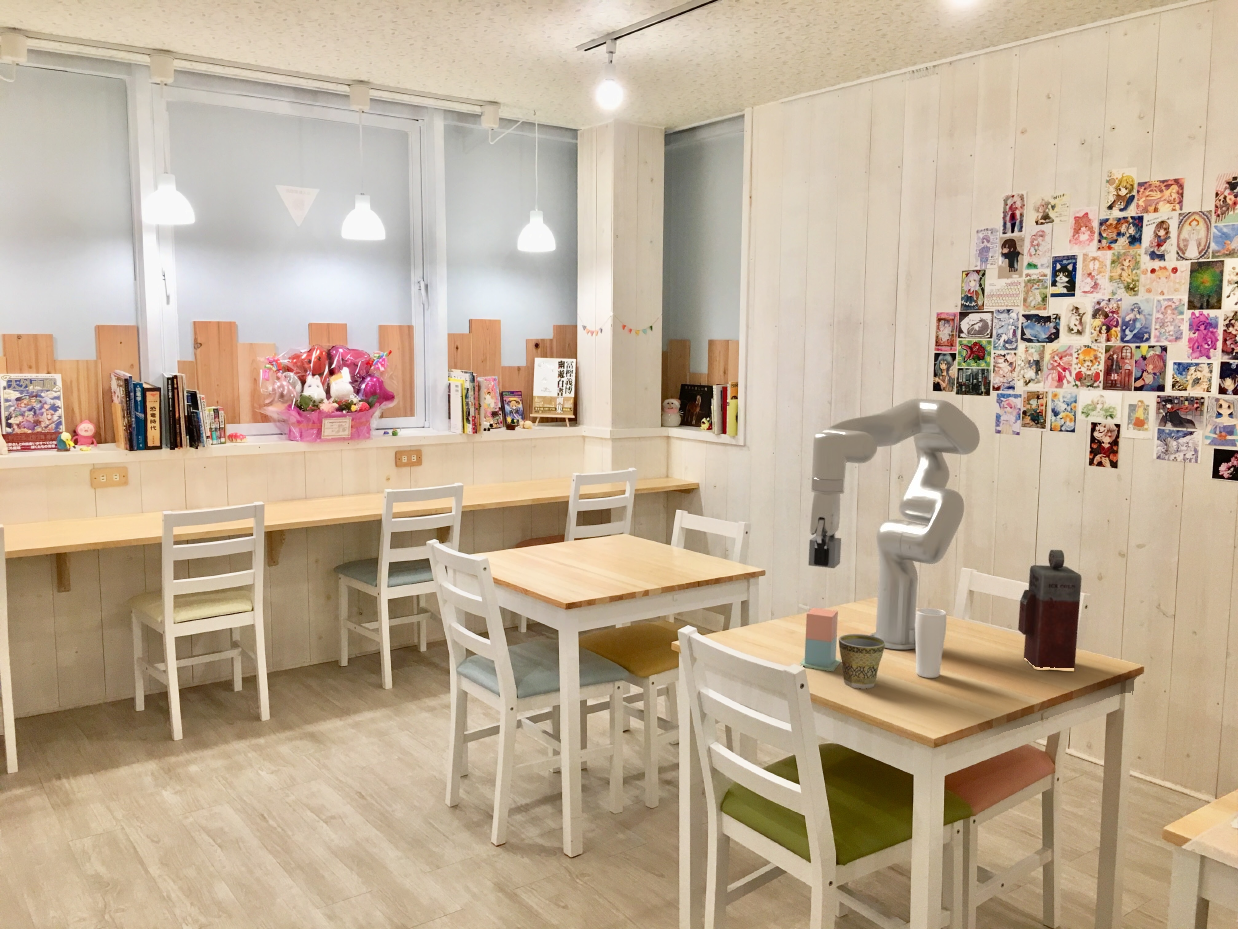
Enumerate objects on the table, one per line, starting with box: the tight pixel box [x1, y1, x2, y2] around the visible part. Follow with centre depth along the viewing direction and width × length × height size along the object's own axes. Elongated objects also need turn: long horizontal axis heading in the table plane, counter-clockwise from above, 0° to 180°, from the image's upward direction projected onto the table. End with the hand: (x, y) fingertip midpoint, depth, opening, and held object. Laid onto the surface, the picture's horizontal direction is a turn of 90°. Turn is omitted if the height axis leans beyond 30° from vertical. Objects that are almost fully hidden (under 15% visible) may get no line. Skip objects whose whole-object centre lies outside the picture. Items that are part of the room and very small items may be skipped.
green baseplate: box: [799, 657, 842, 672], centre depth 234 cm, size 8×8×1 cm
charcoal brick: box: [808, 535, 842, 569], centre depth 231 cm, size 6×6×6 cm
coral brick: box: [805, 607, 839, 642], centre depth 233 cm, size 6×6×6 cm
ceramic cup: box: [838, 633, 885, 690], centre depth 222 cm, size 13×10×10 cm
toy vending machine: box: [1017, 549, 1082, 669], centre depth 236 cm, size 9×11×28 cm
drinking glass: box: [915, 607, 948, 679], centre depth 227 cm, size 7×7×15 cm
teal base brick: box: [804, 635, 838, 667], centre depth 234 cm, size 6×6×6 cm
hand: (824, 561), depth 231 cm, fingers closed on charcoal brick, 6 cm apart
